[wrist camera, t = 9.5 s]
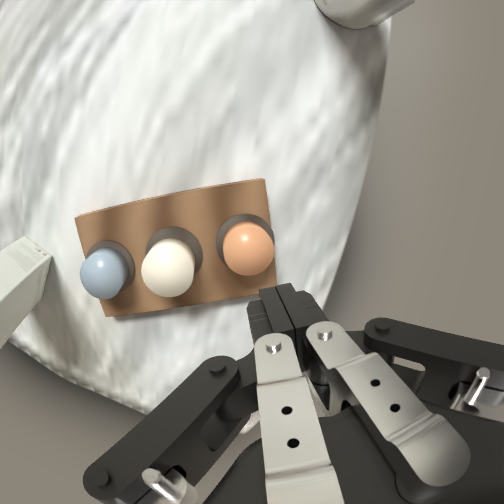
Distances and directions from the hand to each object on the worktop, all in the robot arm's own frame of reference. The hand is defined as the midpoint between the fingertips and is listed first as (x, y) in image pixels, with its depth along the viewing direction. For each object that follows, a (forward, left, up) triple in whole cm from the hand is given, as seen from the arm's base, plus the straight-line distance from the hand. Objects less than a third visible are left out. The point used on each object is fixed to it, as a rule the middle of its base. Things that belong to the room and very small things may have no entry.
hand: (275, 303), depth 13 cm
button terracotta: (0, +2, -17) cm, 18 cm away
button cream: (+8, +2, -16) cm, 18 cm away
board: (+8, +2, -20) cm, 21 cm away
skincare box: (+30, +1, -20) cm, 36 cm away
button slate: (+16, +2, -17) cm, 23 cm away
